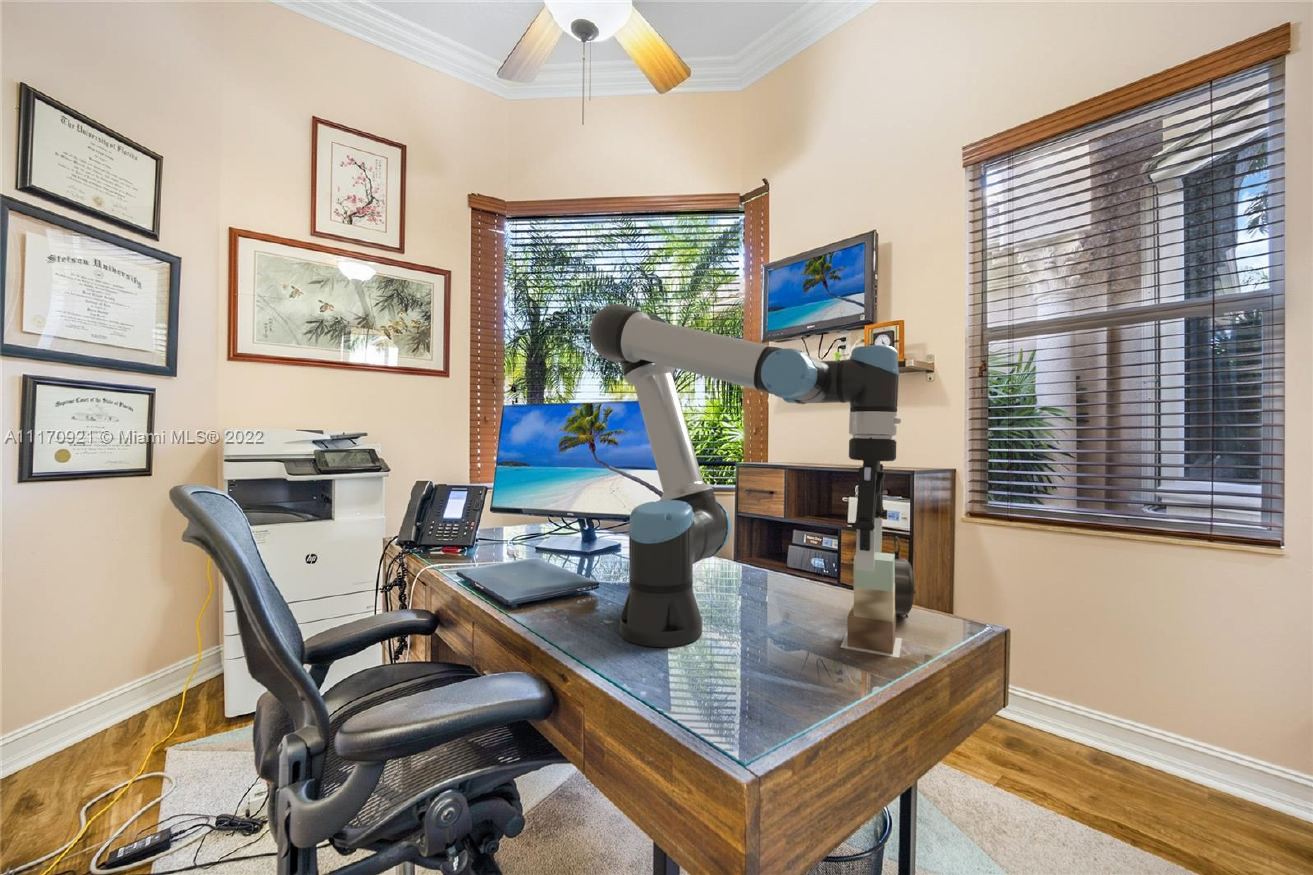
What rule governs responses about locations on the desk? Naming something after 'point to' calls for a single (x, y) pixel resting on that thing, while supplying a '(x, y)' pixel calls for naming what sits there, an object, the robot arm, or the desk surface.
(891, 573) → the sage brick
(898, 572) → the alarm clock
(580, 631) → the desk surface
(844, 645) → the mat
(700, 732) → the desk surface
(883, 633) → the walnut brick
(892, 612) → the maple brick
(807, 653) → the desk surface
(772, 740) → the desk surface
